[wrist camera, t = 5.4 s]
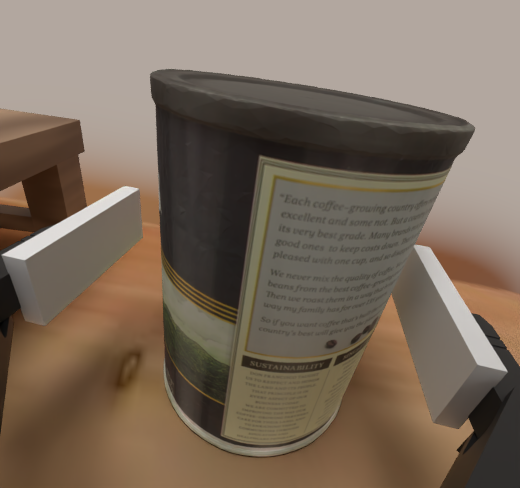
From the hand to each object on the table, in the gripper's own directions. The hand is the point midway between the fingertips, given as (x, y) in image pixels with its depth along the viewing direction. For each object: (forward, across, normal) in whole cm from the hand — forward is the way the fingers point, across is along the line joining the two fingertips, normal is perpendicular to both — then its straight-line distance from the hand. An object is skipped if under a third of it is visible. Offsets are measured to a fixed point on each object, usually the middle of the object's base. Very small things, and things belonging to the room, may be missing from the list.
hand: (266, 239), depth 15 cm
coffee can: (-1, +1, -8) cm, 8 cm away
